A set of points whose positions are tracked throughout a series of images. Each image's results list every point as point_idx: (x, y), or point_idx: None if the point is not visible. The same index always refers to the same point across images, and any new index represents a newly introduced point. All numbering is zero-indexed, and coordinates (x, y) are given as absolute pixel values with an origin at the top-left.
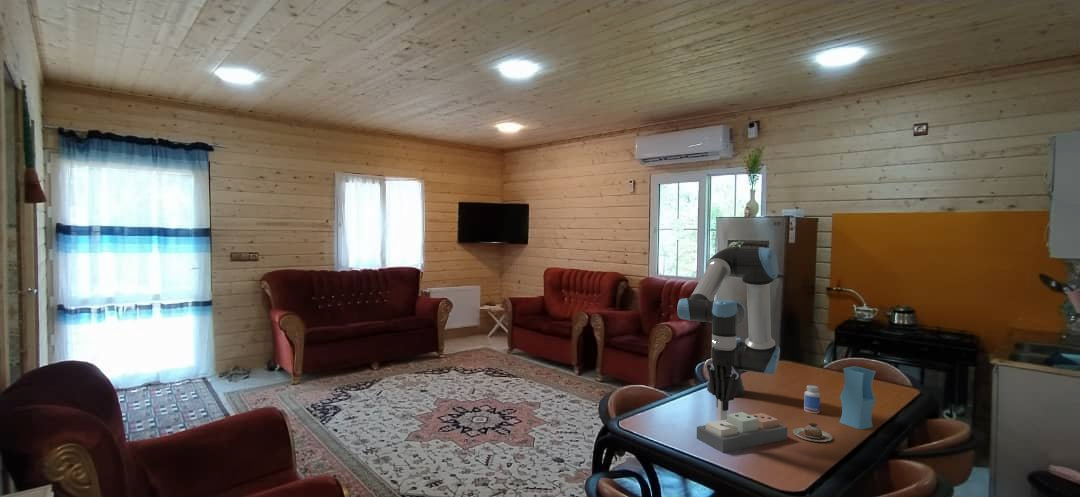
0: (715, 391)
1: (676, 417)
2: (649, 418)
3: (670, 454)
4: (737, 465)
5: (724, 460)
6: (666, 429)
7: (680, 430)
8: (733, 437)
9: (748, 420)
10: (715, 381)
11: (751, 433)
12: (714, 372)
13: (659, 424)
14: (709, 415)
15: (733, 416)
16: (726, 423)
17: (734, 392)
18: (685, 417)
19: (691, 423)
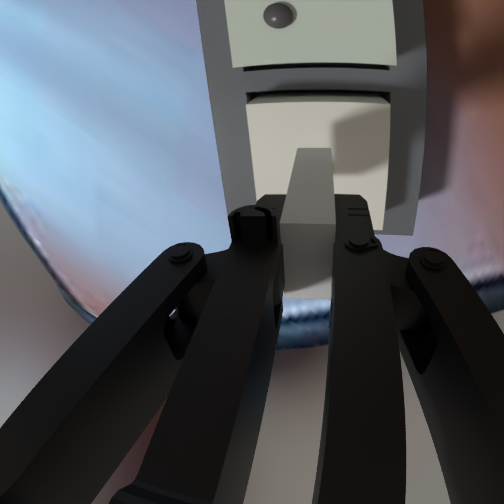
0: (194, 314)
1: (48, 149)
2: (60, 236)
3: (324, 343)
4: (488, 238)
5: (444, 247)
6: (142, 245)
7: (155, 207)
8: (417, 168)
9: (392, 10)
10: (127, 405)
11: (415, 32)
12: (49, 496)
13: (102, 238)
14: (44, 15)
15: (283, 47)
16: (311, 123)
17: (494, 344)
18: (48, 116)
19: (96, 124)
